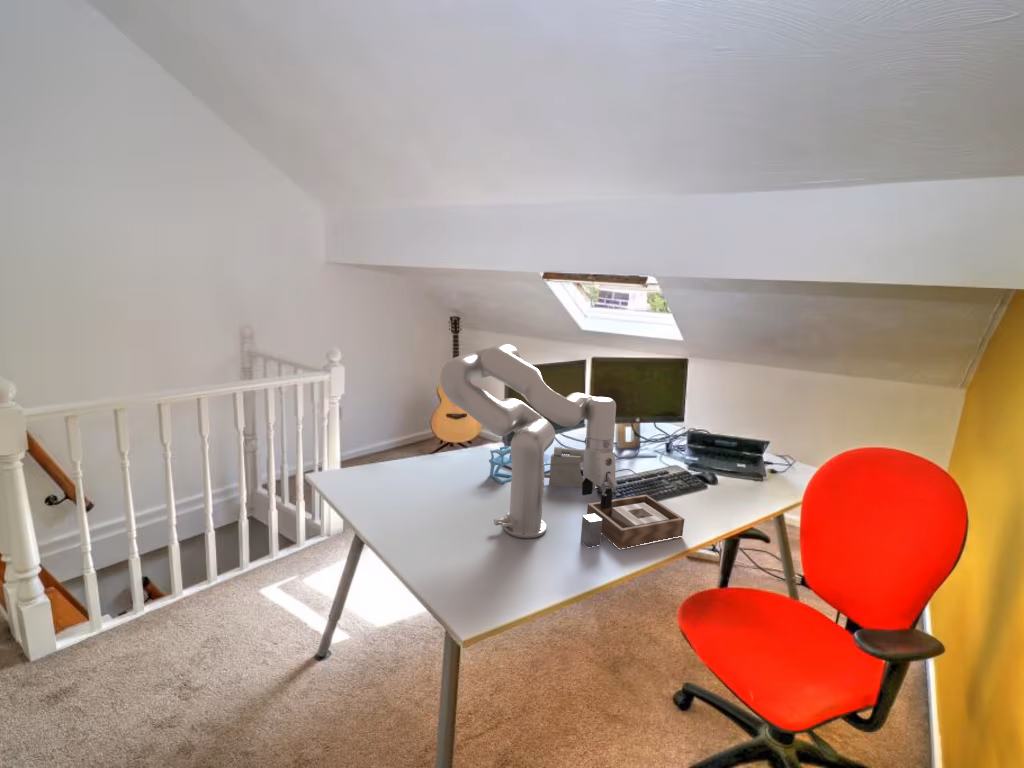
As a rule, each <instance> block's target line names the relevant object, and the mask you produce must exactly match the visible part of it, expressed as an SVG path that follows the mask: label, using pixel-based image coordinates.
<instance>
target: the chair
mask: <svg viewBox="0 0 1024 768" xmlns="http://www.w3.org/2000/svg"><path fill="white" fill-rule="evenodd" d="M490 454H491V456H490V457H491V458H490V459H488V463H490V470H489V471H490V472H489V477H490V478H492V479H494V480H495V481H497V482H498V483H499V484H502V485H504V484H506V483H509V482H511V476H512V473H511V474H509V473H505V472H500V469H501V468H502V467H504V466H507V465H509V464H512V458H511V446H507V445H506V446H499V448H498V449H493V450H491V449H490ZM494 454H497V455H498V456H495V457H494ZM508 454H509V456H508V457H506V455H508ZM496 466H497V467H496ZM495 467H496V469H495ZM498 476H500V477H506V479H503V480H502V479H501V478H500V477H498Z"/></svg>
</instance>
